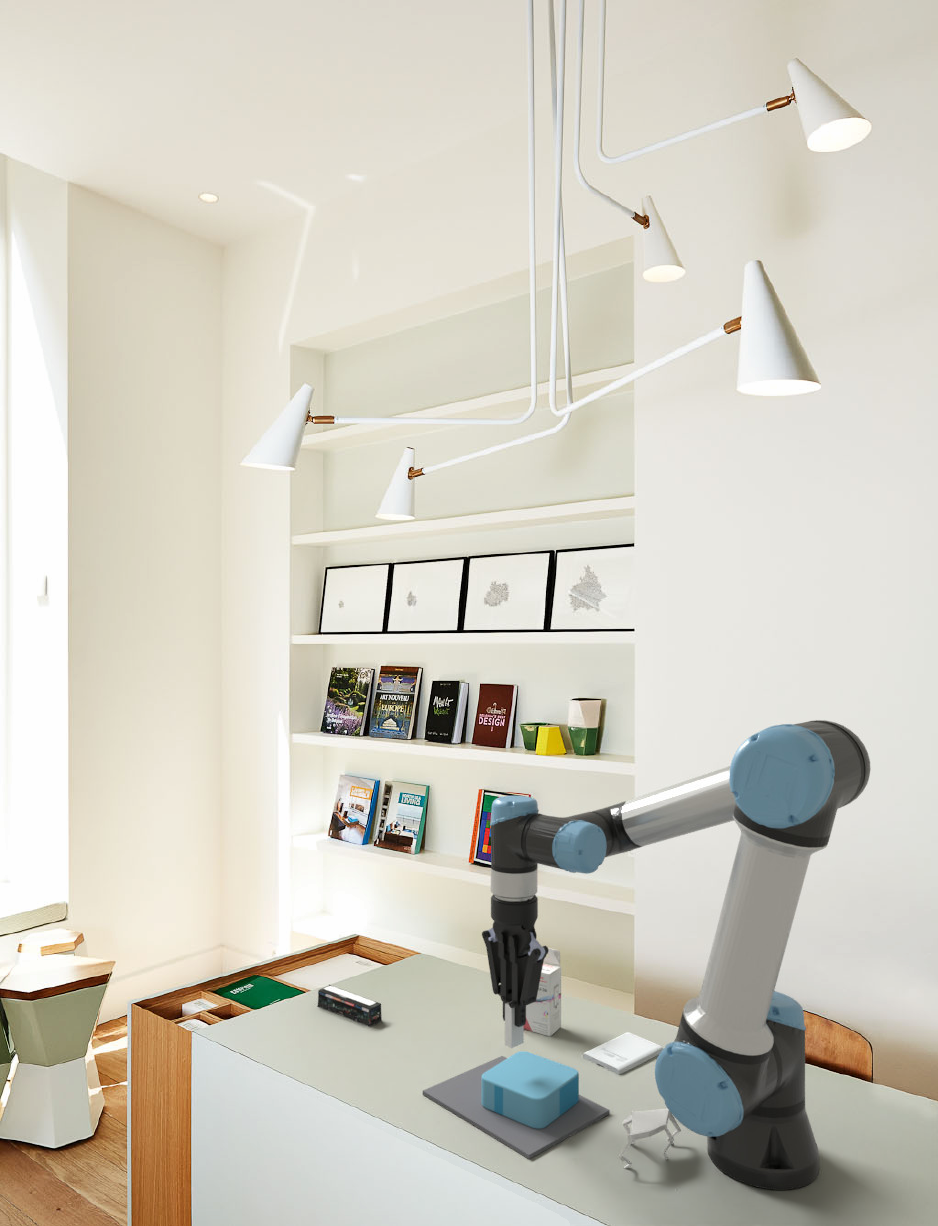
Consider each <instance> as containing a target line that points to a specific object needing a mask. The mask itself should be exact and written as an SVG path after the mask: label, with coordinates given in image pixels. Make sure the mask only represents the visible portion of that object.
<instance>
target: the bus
mask: <svg viewBox="0 0 938 1226" xmlns="http://www.w3.org/2000/svg"><path fill="white" fill-rule="evenodd" d="M317 995H318V996H317V1005H316V1007H317V1008H321V1009H323V1010H325V1011H329V1012H331V1013H334V1014H336V1015H338V1016H341V1017H344V1018H346V1019H349V1020H351V1021H354V1022H357V1023H359V1024H361V1025H364V1026H366V1027H372V1026H375V1025H377V1024H379V1023H380V1022H382V1004H381V1002H378V1001H375V1000H373V999H369V998H367V997H364V996H362V995H359V994H357V993H354V992H351V991H347V990H344V989H342V988H340V987H336V986H334V985H331V984H328V985H327V986H324V987H322V988H320V989H319V990H318V991H317Z"/></svg>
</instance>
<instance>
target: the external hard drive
mask: <svg viewBox="0 0 938 1226" xmlns="http://www.w3.org/2000/svg"><path fill="white" fill-rule="evenodd" d="M663 1049H664V1047H663V1046H661V1045H659V1044H658V1043H655V1042H652V1041H650V1040H648V1039H646V1038H643V1037H641V1036H639V1035H636V1034H634V1033H631V1032H629V1031H628V1032H627V1031H626V1032H625V1033H622V1034H621V1035H619V1036H617V1037H615V1038H613V1039H610V1040H608V1041H605V1042H604V1043H602V1044H600V1045H598V1046H595V1047H594V1048H591V1049H589V1050H587V1051H585V1052H583V1053H582V1059H585V1060H586V1061H588V1062H591V1063H594V1064H595V1065H598V1066H601V1067H603V1069H606V1070H608V1071H610V1072H612V1073H614V1074H616V1075H618V1076H619V1075H621V1074H623V1073H626V1072H628V1071H629V1070H631V1069H633V1068H635V1067H637V1066H639V1065H641V1064H643V1063H645V1062H647V1061H648V1060H651V1059H653V1058H654V1057H658V1056H659V1054H660V1053H661V1051H662V1050H663Z"/></svg>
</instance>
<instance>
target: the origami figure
mask: <svg viewBox="0 0 938 1226" xmlns="http://www.w3.org/2000/svg"><path fill="white" fill-rule="evenodd" d="M669 1121H670V1123H672V1125H673V1126H674V1128H675V1129H676V1130H675V1131H673V1133H672V1134H671V1132H670V1130H669V1129H668V1122H669ZM630 1124H631V1126H630V1127H631V1129H630V1128H629V1125H630ZM622 1126H623V1128H624V1129H625V1131H626V1133H627V1142H626V1144H625V1146H624V1148H623V1149H622V1150H621V1152H620V1153H619V1155H618V1156H617V1158H618V1159H619V1160H621V1161H623V1162H625V1163H626V1165H624V1166H623V1169H625V1170H626V1169H628V1168H629V1167H631V1166H632V1165H633V1163H632V1161H630V1160H629V1159H628V1158H627V1157H624V1154H625V1153H626V1152H627V1151H628V1149H629V1147H631V1145H634V1144H635V1141H637V1140H642V1139H647V1138H650V1137H652V1136H655V1135H657V1134H658V1133H661V1132H663V1131H664V1132H665V1133H666V1135H667V1138H666V1141H667V1142H668V1144H667V1146H666V1147H665V1149H664V1150H663V1153H662V1156H663V1157H664V1160H668V1158H669V1157H668V1155H667V1154H666V1153H667V1150H668V1149H669V1148H670V1147H671V1145H674V1141H675V1140H674V1139H675V1138H674V1137H675V1136H676V1135H677V1134H679V1133H680V1132H681V1131H682V1130H681V1128H680V1126H679V1124H678V1122H677V1119H676V1118H675V1117H674V1116H673V1115H672V1113H671V1112H670V1111H669V1110H668V1108H667V1107H666V1108H659V1109H658V1108H657V1109H651V1110H650V1109H649V1110H633V1109H631V1110H630V1116H628V1117H626V1118H625V1119H623V1120H622Z"/></svg>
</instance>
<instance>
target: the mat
mask: <svg viewBox="0 0 938 1226" xmlns="http://www.w3.org/2000/svg"><path fill="white" fill-rule="evenodd" d="M507 1058H508V1057H505V1056H503V1055H501V1056H499V1057H496V1058H494V1059H491V1060H489V1061H487V1062H485V1063H482V1064H481V1065H478V1066H475V1067H473V1068H472V1069H469V1070H467V1071H464V1072H462V1073H459V1074H458V1075H455V1076H453V1077H451V1078H448V1079H446V1080H444V1081H442V1082H438V1083H437V1084H434V1085H432V1086H430V1087H428V1088H425V1089H423V1090H422V1095H423V1096H424V1097H426V1098H428V1099H429V1100H431V1101H433V1102H434V1103H435V1104H438V1105H440V1106H441V1107H443V1108H444V1109H446V1110H447V1111H449V1112H451V1113H452V1114H454V1115H456V1116H457V1117H459V1118H461V1119H462V1120H464V1121H465V1122H467V1123H468V1124H470V1125H472V1126H474V1127H475V1128H477V1129H479V1130H480V1131H481V1132H484V1133H486V1134H487V1135H489V1136H490V1137H492V1138H493V1139H495V1140H497V1142H500V1143H502V1144H503V1145H504V1146H507V1147H509V1148H510V1149H512V1150H513V1151H515V1152H517V1153H518V1154H520V1155H522V1156H523V1157H525V1158H526V1159H528V1160H531V1159H532V1158H533V1157H536V1156H537V1155H539V1154H541V1153H543V1152H544V1151H547V1150H548V1149H550V1148H552V1147H553V1146H556V1145H557V1144H559V1143H561V1142H562V1141H564V1140H565V1139H568V1138H570V1137H571V1136H573V1135H575V1134H576V1133H579V1132H580V1131H581V1130H583V1129H585V1128H587V1127H589V1126H590V1125H592V1124H594V1123H596V1122H597V1121H600V1120H601V1119H603V1118H604V1117H607V1116H608V1115H610V1114H611V1113H610V1109H608V1108H606V1107H605V1106H603V1105H600V1104H598V1102H597V1103H596V1102H595V1101H593V1100H590V1099H589V1098H586V1097H585V1096H582V1095H581V1094H579V1101H578V1102H577V1103H576V1104H575V1105H574V1106H572V1107H571V1108H570V1109H568V1110H567V1111H566V1112H565V1113H563V1114H562V1115H561V1116H559V1117H558V1118H557V1119H555V1120H554V1121H553V1122H552V1123H550V1124H549V1125H548V1126H546V1127H545V1128H542V1129H535V1128H532V1127H529V1126H527V1125H524V1124H522V1123H520V1122H517V1121H515V1120H513V1119H510V1118H508V1117H505V1116H503V1115H501V1114H498V1113H496V1112H494V1111H491V1110H489V1109H486V1108H485V1107H483V1106H482V1103H481V1089H482V1074H483V1073H485V1072H486V1071H488V1070H490V1069H491V1068H493V1067H494V1066H496V1065H498V1064H499V1063H501V1062H502V1061H504V1060H506V1059H507Z"/></svg>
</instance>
